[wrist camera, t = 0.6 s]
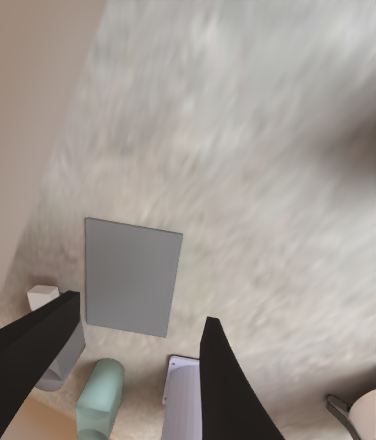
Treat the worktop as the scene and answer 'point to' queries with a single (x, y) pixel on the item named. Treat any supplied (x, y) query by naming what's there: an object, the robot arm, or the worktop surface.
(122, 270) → the mat
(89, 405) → the teal plug
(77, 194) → the worktop surface
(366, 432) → the coffee press
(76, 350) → the plug
